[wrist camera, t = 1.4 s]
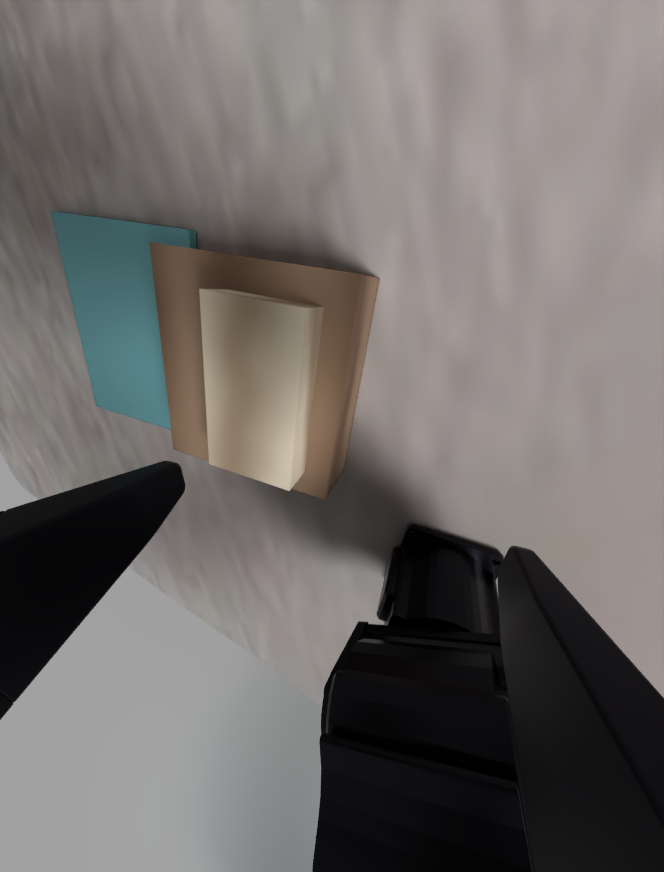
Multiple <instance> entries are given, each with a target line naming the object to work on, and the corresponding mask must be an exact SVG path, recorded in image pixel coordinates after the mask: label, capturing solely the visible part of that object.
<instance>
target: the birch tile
mask: <svg viewBox="0 0 664 872" xmlns="http://www.w3.org/2000/svg"><path fill="white" fill-rule="evenodd" d="M199 294H200V312H201V329H202V347H203V364H204V382H205V400H206V417H207V435H208V453H209V464H210V465H213V466H216V467H219V468H222V469H225V470H228V471H231V472H234V473H237V474H240V475H243V476H246V477H249V478H252V479H255V480H258V481H261V482H264V483H267V484H270V485H273V486H276V487H279V488H282V489H285V490H288V491H290V490H291V489H292V487H293V486H294V485H295V483H296V482H297V481H298V480H299V478H300V477H301V476H302V475H303V473H304V472H305V464H306V455H307V446H308V438H309V429H310V421H311V412H312V403H313V395H314V386H315V378H316V369H317V360H318V352H319V343H320V335H321V326H322V317H323V309H324V307H322V306H317V305H311V304H306V303H300V302H295V301H289V300H284V299H278V298H273V297H267V296H262V295H256V294H251V293H245V292H239V291H234V290H228V289H199Z"/></svg>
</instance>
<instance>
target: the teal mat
mask: <svg viewBox="0 0 664 872" xmlns="http://www.w3.org/2000/svg"><path fill="white" fill-rule="evenodd" d="M51 215H52V219H53V223H54V228H55V232H56V236H57V241H58V245H59V249H60V253H61V258H62V262H63V266H64V270H65V275H66V279H67V283H68V287H69V292H70V296H71V300H72V304H73V309H74V313H75V317H76V321H77V326H78V330H79V334H80V338H81V343H82V347H83V351H84V355H85V360H86V364H87V368H88V372H89V377H90V381H91V385H92V390H93V394H94V398H95V402H96V406H97V407H101V408H104V409H107V410H110V411H113V412H116V413H120V414H123V415H126V416H129V417H132V418H135V419H138V420H142V421H145V422H148V423H151V424H154V425H157V426H161V427H164V428H167V429H170V430H171V424H170V415H169V407H168V398H167V390H166V381H165V373H164V364H163V356H162V347H161V339H160V330H159V322H158V313H157V305H156V296H155V288H154V279H153V271H152V262H151V254H150V245H149V242H152V243H159V244H165V245H172V246H179V247H185V248H192V249H197V240H196V231H193V230H189V229H181V228H174V227H166V226H159V225H151V224H144V223H137V222H129V221H122V220H114V219H107V218H99V217H92V216H84V215H77V214H69V213H62V212H54V211H51Z"/></svg>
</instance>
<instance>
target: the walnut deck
mask: <svg viewBox="0 0 664 872" xmlns="http://www.w3.org/2000/svg"><path fill="white" fill-rule="evenodd" d="M149 245H150V254H151V262H152V271H153V279H154V288H155V296H156V305H157V313H158V322H159V330H160V339H161V347H162V356H163V364H164V373H165V381H166V390H167V398H168V407H169V415H170V424H171V432H172V441H173V449H174V450H176V451H179V452H182V453H185V454H188V455H191V456H194V457H197V458H200V459H203V460H206V461H209V453H208V435H207V417H206V400H205V382H204V364H203V347H202V329H201V312H200V294H199V289H228V290H234V291H239V292H245V293H251V294H256V295H262V296H267V297H273V298H278V299H284V300H289V301H295V302H300V303H306V304H311V305H317V306H322V307H324V309H323V317H322V326H321V335H320V343H319V352H318V360H317V369H316V378H315V386H314V395H313V403H312V412H311V421H310V429H309V438H308V446H307V455H306V464H305V472H304V473H303V475H302V476H301V477H300V478H299V480H298V481H297V482H296V483H295V485H294V486H293V487H292V489H293V490H296V491H299V492H302V493H305V494H308V495H311V496H314V497H317V498H320V499H323V500H326V498H327V496H328V495H329V493H330V491H331V489H332V488H333V486H334V484H335V483H336V481H337V479H338V477H339V476H340V474H341V472H342V471H343V469H344V467H345V461H346V456H347V451H348V445H349V440H350V435H351V429H352V424H353V419H354V413H355V408H356V403H357V397H358V392H359V387H360V381H361V376H362V371H363V365H364V360H365V355H366V349H367V344H368V339H369V333H370V328H371V323H372V317H373V312H374V307H375V301H376V296H377V291H378V285H379V280H380V278H376V277H372V276H368V275H364V274H358V273H352V272H345V271H338V270H332V269H325V268H318V267H312V266H305V265H298V264H292V263H285V262H278V261H272V260H265V259H259V258H252V257H245V256H239V255H232V254H225V253H219V252H212V251H205V250H199V249H192V248H185V247H179V246H172V245H165V244H159V243H152V242H149Z"/></svg>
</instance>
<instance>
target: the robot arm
mask: <svg viewBox="0 0 664 872" xmlns="http://www.w3.org/2000/svg"><path fill="white" fill-rule="evenodd" d="M184 491H185V481H184V477H183V473H182V469H181V466H180V465H179V464H178V463H174V462H170V461H162V462H159V463H156V464H153V465H149V466H146V467H143V468H140V469H137V470H133V471H130V472H127V473H124V474H120V475H117V476H114V477H111V478H108V479H104V480H101V481H98V482H95V483H92V484H88V485H85V486H82V487H79V488H75V489H72V490H69V491H66V492H63V493H59V494H56V495H53V496H50V497H46V498H43V499H40V500H37V501H34V502H30V503H27V504H24V505H21V506H18V507H15V508H11V509H8V510H6V511H1V512H0V719H1V718H2V717H3V716H4V715H5V714H6V712H7V711H8V710H9V709H10V708H11V706H12V705H13V702H15V701H16V700H17V699H18V698H19V696H20V695H21V694H22V693H23V691H24V690H25V689H26V688H27V687H28V686H29V684H30V683H31V682H32V681H33V680H34V678H35V677H36V676H37V675H38V674H39V672H40V671H41V670H42V669H43V668H44V666H45V665H46V664H47V663H48V661H49V660H50V659H51V658H52V657H53V656H54V655H55V653H56V652H57V651H58V650H59V648H60V647H61V646H62V645H63V644H64V643H65V641H66V640H67V639H68V638H69V637H70V635H71V634H72V633H73V631H75V629H76V628H77V627H78V626H79V625H80V623H81V622H82V621H83V620H84V618H85V617H86V616H87V615H88V614H89V613H90V611H91V610H92V609H93V608H94V607H95V606H96V604H97V603H98V602H99V601H100V600H101V598H102V597H103V596H104V595H105V594H106V592H107V591H108V590H109V589H110V588H111V586H112V585H113V584H114V583H115V581H116V580H117V579H118V578H119V577H120V575H121V574H122V573H123V572H124V571H125V570H126V568H127V567H128V566H129V565H130V564H131V562H132V561H133V560H134V559H135V558H136V557H137V555H138V554H139V553H140V552H141V551H142V549H143V548H144V547H145V546H146V545H147V543H148V542H149V541H150V540H151V538H152V537H153V536H154V534H155V533H156V532H157V530H158V529H159V528H160V526H161V525H162V523H163V522H164V520H165V519H166V517H167V516H168V515H169V513H170V512H171V510H172V509H173V507H174V506H175V505H176V503H177V502H178V500H179V499H180V497H181V496H182V494H183V493H184ZM411 531H414V532H416V533H411ZM495 559H497V560H498V561H494V560H495ZM497 577H498V592H497V587H496V579H497ZM498 594H499V598H498ZM377 616H378V618H379V619H380V620H382V621H385V622H384V625H376V624H368V622H360V621H359V622H358V624H357V625H356V627H355V629H354V631H353V633H352V635H351V637H350V638H349V640H348V642H347V644H346V646H345V648H344V649H343V651H342V653H341V655H340V657H339V659H338V661H337V662H336V664H335V666H334V668H333V670H332V672H331V674H330V676H329V679H328V681H327V683H326V685H325V688H324V698H323V705H322V713H321V714H322V715H321V732H322V733H321V737H320V755H321V798H320V808H319V818H318V828H317V835H316V843H315V851H314V860H313V872H664V698H663V697H662V696H661V694H660V693H659V692H658V691H657V690H656V689H655V688H654V687H653V685H652V684H651V683H650V682H649V681H648V680H647V679H646V678H645V676H644V675H643V674H642V673H641V672H640V671H639V670H638V669H637V667H636V666H635V665H634V664H633V663H632V662H631V661H630V659H629V658H628V657H627V656H626V655H625V654H624V653H623V652H622V650H621V649H620V648H619V647H618V646H617V645H616V644H615V643H614V641H613V640H612V639H611V638H610V637H609V636H608V635H607V634H606V632H605V631H604V630H603V629H602V628H601V627H600V626H599V625H598V623H597V622H596V621H595V620H594V619H593V618H592V617H591V616H590V614H589V613H588V612H587V611H586V610H585V609H584V608H583V607H582V605H581V604H580V603H579V602H578V601H577V600H576V599H575V598H574V596H573V595H572V594H571V593H570V592H569V591H568V590H567V589H566V587H565V586H564V585H563V584H562V583H561V582H560V581H559V579H558V578H557V577H556V576H555V575H554V574H553V573H552V572H551V570H550V569H549V568H548V567H547V566H546V565H545V564H544V563H543V561H542V560H541V559H540V558H539V557H538V556H537V555H536V554H535V553H534V552H533V551H532V550H530V549H526V548H522V547H518V546H511V547H510V548H509V550H508V552H507V554H506V556H505V558H504V557H503V555H502V554H500V553H498V552H495V551H492V550H489V549H486V548H483V547H480V546H477V545H474V544H471V543H468V542H465V541H462V540H459V539H456V538H453V537H450V536H447V535H444V534H441V533H438V532H435V531H432V530H429V529H426V528H423V527H419V526H416V525H409V526H407V528H406V530H405V533H404V536H403V539H402V542H401V545H400V547H398V546H396V547H394V548H393V550H392V553H391V556H390V560H389V563H388V566H387V569H386V573H385V578H384V582H383V587H382V592H381V596H380V601H379V606H378V610H377Z"/></svg>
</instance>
